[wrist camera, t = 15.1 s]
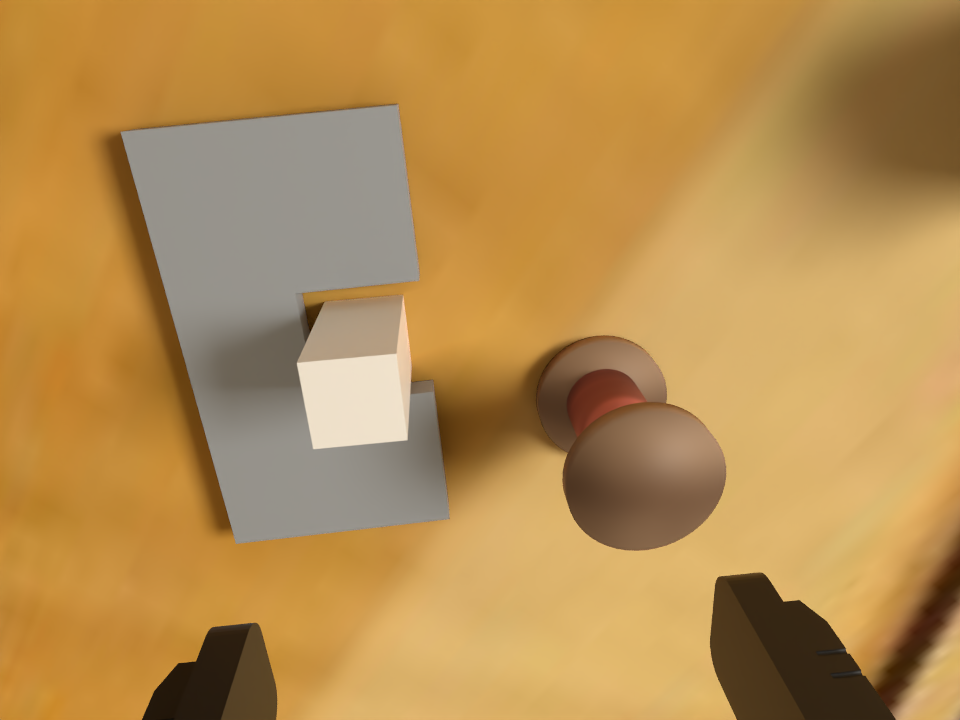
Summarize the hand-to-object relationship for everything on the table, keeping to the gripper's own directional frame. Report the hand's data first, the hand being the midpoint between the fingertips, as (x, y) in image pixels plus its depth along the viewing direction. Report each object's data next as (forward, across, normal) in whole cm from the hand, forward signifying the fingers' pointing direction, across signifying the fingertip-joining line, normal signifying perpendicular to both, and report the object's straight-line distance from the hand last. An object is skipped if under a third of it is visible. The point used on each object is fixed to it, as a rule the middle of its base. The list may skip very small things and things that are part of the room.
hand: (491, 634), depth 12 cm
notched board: (+24, +8, +4) cm, 26 cm away
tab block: (+24, +5, +4) cm, 25 cm away
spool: (+24, -8, +8) cm, 27 cm away
